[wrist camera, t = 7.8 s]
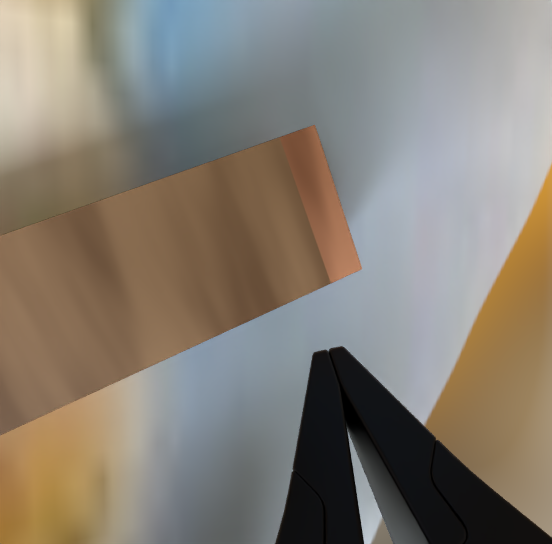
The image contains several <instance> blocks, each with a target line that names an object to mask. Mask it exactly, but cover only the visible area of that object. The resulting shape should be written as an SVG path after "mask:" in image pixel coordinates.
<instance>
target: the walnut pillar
mask: <svg viewBox="0 0 552 544" xmlns="http://www.w3.org/2000/svg"><path fill="white" fill-rule="evenodd" d="M361 269H362V267H361V264H360V261H359V258H358V255H357V252H356V249H355V246H354V243H353V240H352V237H351V233H350V230H349V227H348V224H347V221H346V218H345V215H344V212H343V209H342V206H341V203H340V200H339V197H338V194H337V191H336V188H335V185H334V182H333V179H332V176H331V173H330V169H329V166H328V163H327V160H326V157H325V154H324V151H323V148H322V145H321V142H320V139H319V136H318V133H317V130H316V127H315V125H313V126H310V127H307V128H304V129H302V130H299V131H296V132H293V133H290V134H287V135H285V136H282V137H279V138H276V139H273V140H270V141H267V142H265V143H262V144H259V145H256V146H253V147H250V148H248V149H245V150H242V151H239V152H236V153H233V154H231V155H228V156H225V157H222V158H219V159H216V160H214V161H211V162H208V163H205V164H202V165H199V166H196V167H194V168H191V169H188V170H185V171H182V172H179V173H177V174H174V175H171V176H168V177H165V178H162V179H160V180H157V181H154V182H151V183H148V184H145V185H143V186H140V187H137V188H134V189H131V190H128V191H125V192H123V193H120V194H117V195H114V196H111V197H108V198H106V199H103V200H100V201H97V202H94V203H91V204H89V205H86V206H83V207H80V208H77V209H74V210H72V211H69V212H66V213H63V214H60V215H57V216H54V217H52V218H49V219H46V220H43V221H40V222H37V223H35V224H32V225H29V226H26V227H23V228H20V229H18V230H15V231H12V232H9V233H6V234H3V235H1V236H0V435H2V434H4V433H6V432H9V431H11V430H13V429H15V428H17V427H20V426H22V425H24V424H26V423H28V422H30V421H33V420H35V419H37V418H39V417H41V416H43V415H46V414H48V413H50V412H52V411H54V410H56V409H59V408H61V407H63V406H65V405H67V404H70V403H72V402H74V401H76V400H78V399H80V398H83V397H85V396H87V395H89V394H91V393H93V392H96V391H98V390H100V389H102V388H104V387H106V386H109V385H111V384H113V383H115V382H117V381H120V380H122V379H124V378H126V377H128V376H130V375H133V374H135V373H137V372H139V371H141V370H143V369H146V368H148V367H150V366H152V365H154V364H157V363H159V362H161V361H163V360H165V359H167V358H170V357H172V356H174V355H176V354H178V353H180V352H183V351H185V350H187V349H189V348H191V347H193V346H196V345H198V344H200V343H202V342H204V341H207V340H209V339H211V338H213V337H215V336H217V335H220V334H222V333H224V332H226V331H228V330H230V329H233V328H235V327H237V326H239V325H241V324H244V323H246V322H248V321H250V320H252V319H254V318H257V317H259V316H261V315H263V314H265V313H267V312H270V311H272V310H274V309H276V308H278V307H280V306H283V305H285V304H287V303H289V302H291V301H294V300H296V299H298V298H300V297H302V296H304V295H307V294H309V293H311V292H313V291H315V290H317V289H320V288H322V287H324V286H326V285H328V284H330V283H333V282H335V281H337V280H339V279H341V278H344V277H346V276H348V275H350V274H352V273H354V272H357V271H359V270H361Z"/></svg>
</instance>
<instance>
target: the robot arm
mask: <svg viewBox="0 0 552 544" xmlns="http://www.w3.org/2000/svg"><path fill="white" fill-rule="evenodd" d="M347 429H348V432H349V434H350V437H351V440H352V442H353V445H354V447H355V450H356V452H357V455H358V457H359V460H360V462H361V465H362V467H363V469H364V472H365V474H366V477H367V479H368V482H369V484H370V487H371V489H372V492H373V494H374V497H375V499H376V502H377V504H378V507H379V509H380V512H381V514H382V517H383V519H384V521H385V524H386V527H387V529H388V532H389V534H390V537H391V539H392V541H393V544H552V537H550V536H549V535H548V534H547V533H546V532H544V531H543V530H542V529H541V528H539V527H538V526H537V525H536V524H534V523H533V522H532V521H531V520H530V519H528V518H527V517H526V516H525V515H523V514H522V513H521V512H520V511H518V510H517V509H516V508H515V507H513V506H512V505H511V504H510V503H509V502H507V501H506V500H505V499H503V497H501V496H500V495H499V494H498V493H496V492H495V491H494V490H493V489H492V488H490V487H489V486H488V485H487V484H485V483H484V482H483V481H482V480H481V479H479V477H477V476H476V475H475V474H474V473H473V472H471V471H470V470H469V469H468V468H467V467H466V466H465V465H464V464H463V463H462V462H461V461H460V460H459V459H457V457H455V456H454V455H453V454H452V453H451V452H450V451H449V450H448V449H447V448H446V447H445V446H444V445H443V444H442V443H441V442H440V441H439V440H436V438H435V437H434V435H433V434H432V433H430V432H429V430H428V429H427V428H426V427H425V426H424V425H423V424H422V423H421V422H420V421H419V420H418V419H417V418H415V417H414V416H413V415H412V414H411V413H410V412H409V411H408V410H407V409H406V408H405V407H404V406H403V405H402V404H401V403H400V402H399V401H398V400H397V399H396V398H395V397H394V396H393V395H392V394H391V393H390V392H389V391H388V390H387V389H386V388H385V387H384V386H383V385H382V384H381V383H380V382H379V381H378V380H377V379H376V378H375V377H374V376H373V375H372V374H371V373H370V372H369V371H368V370H367V369H366V368H365V367H364V366H363V365H362V364H361V363H360V362H359V361H358V360H357V359H356V358H355V357H354V356H353V355H352V354H351V353H350V352H349V351H348V350H347V349H345V348H344V347H342V346H340V347H335V348H331V349H329V352H328V351H327V350H322V351H317V352H314V353H313V356H312V361H311V367H310V373H309V378H308V384H307V390H306V395H305V401H304V407H303V412H302V418H301V424H300V429H299V435H298V441H297V446H296V452H295V458H294V463H293V471H292V474H291V479H290V485H289V490H288V495H287V500H286V504H285V509H284V513H283V517H282V521H281V525H280V528H279V532H278V536H277V539H276V543H275V544H364V540H363V533H362V527H361V520H360V513H359V507H358V500H357V493H356V486H355V480H354V473H353V466H352V459H351V453H350V446H349V439H348V432H347Z"/></svg>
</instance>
